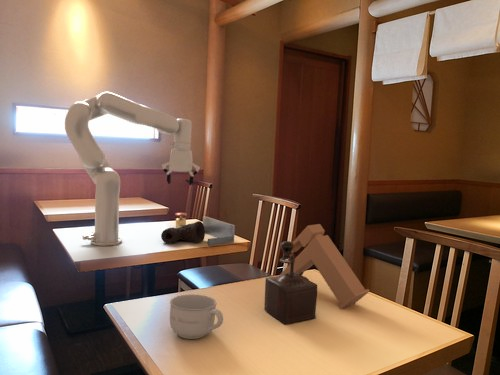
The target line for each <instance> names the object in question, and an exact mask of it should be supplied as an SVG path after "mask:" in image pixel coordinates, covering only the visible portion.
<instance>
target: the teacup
mask: <svg viewBox="0 0 500 375" xmlns="http://www.w3.org/2000/svg"><path fill="white" fill-rule="evenodd" d="M169 304H170V307H169V308H170V309H169V323H170V324H169V325H170V328H171V329H172V331H173V332H174V333H176V334H177V336H179V337H180V338H183V339H186V340H188V339H189V340H195V339H201V338H203V337H205V336H206V335H207V334H209V333H212V331H213V330H216V329H218V328H220V327H221V326H222V324H223V323H224V316H223V312H222V311H221V310H220V309H216V308H217V300H215V298H213V297H211V296H207V295H205V294H202V295H201V294H195V293H194V294H192V293H191V294H182V295H177V296H174V297H173V298H171V299H170V301H169ZM215 318H216V319H217V322H216V323H215Z"/></svg>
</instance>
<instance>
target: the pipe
mask: <svg viewBox="0 0 500 375" xmlns="http://www.w3.org/2000/svg"><path fill="white" fill-rule="evenodd" d="M205 236H206V233H205V229H204V225H203V221H200V220H198V221H195V222H192V223H188V224H187V223H186V225H184V226H183V227H179V228H176V227H169V228H168V227H167V228H166V229H164V230H163V231H162V232H161V236H160V237H161V240H162V241H163V242H164V243H166V244H175V243H176V242H177V241H180V240H183V241H185V242H192V243H196V244H201V243H202V242H203V241H204V239H205Z"/></svg>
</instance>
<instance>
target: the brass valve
mask: <svg viewBox="0 0 500 375" xmlns="http://www.w3.org/2000/svg"><path fill="white" fill-rule="evenodd" d="M174 215H175V216H177V217H176V218H175V228H179V227H183V226H184V225H187V218H185V216H187V215H188V214H187V213H186V212H175V214H174Z"/></svg>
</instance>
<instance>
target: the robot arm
mask: <svg viewBox="0 0 500 375" xmlns="http://www.w3.org/2000/svg"><path fill="white" fill-rule="evenodd" d="M107 114H108V115H111V116H114V117H117V118H119V119H122V120H124V121H126V122H129V123H133V124H136V125H143V126H147V127H150V128H152V129H156V130H157V132H159V133H160V134H161V135H162V134H163V135H173V142H170V144H169V145H170V147H172V148H171V151H170V155H169V161H167V162H165V163H162V164H161V168H162V170H163V171H164V173H165V174H166V182H167V184H168V185H169V184H171V182H172V172H178V173H179V172H180V173H188V174H189V184H188V185H189V186H192V185H193V184H194V176H196V175H197V174H198V172H199V171H200V169H201V167H200V166H199V165H197V164H196V163H194V162H193V152H192V150H191V146H192V145H191V143H192V142H191V140H192V124H193V123H192V120H190V119H186V118H176V117H174V116H172V115H170V114H168V113H165V112H162V111H160V110H157V109H155V108H152V107H149V106H147V105H144V104H141V103H138V102H135V101H133V100H131V99H127V98H125V97H123V96H121V95H118V94H116V93H113V92H110V91H104V92H101V93H100V94H98V95H95V96H93V97H90V98H87V99H84V100H82V101H81V100H80V101H76V102H74V103H72V104H71V106H69V108H68V111H67V113H66V116H65V119H64V130H65V133H66V136H67V138H68V140H69V141H70V143H71V144H72V147H73V148H74V150H75V151H76V153H77V155H78V160H79V162H80V163H81V165H82V167H83V168H84V170H85V172H86V173H87V175H88V176H89V178H90V179H91V180H92V182H93V184H94V185H95V192H94V193H95V195H94V196H95V198H94V231H92V233H90V234H83V235H82V240H84V241H85V240H87V241H90V244H91V245H95V246H100V247H109V246H117V245H120V244H122V243H123V238H121V237H119V228H120V227H119V226H120V224H119V221H120V220H119V217H120V214H119V213H120V193H121V190H120V189H121V176H120V175H119V173H118V172H117V171H116V170H114V169H113V168H112V167H111V165H110V164H109V162H108V161H107V159H106V155H105V153H104V150H102V148H101V147H100V146H99V143H98V142H97V141H96V139H95V137H94V136H93V134H92V133H91V131H90V128H89V121H92V120H95V119H99V118H100V117H103V116H105V115H107ZM167 166H168V169H167ZM193 168H195V171H193Z"/></svg>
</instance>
